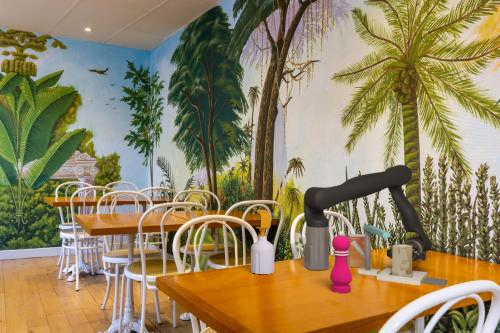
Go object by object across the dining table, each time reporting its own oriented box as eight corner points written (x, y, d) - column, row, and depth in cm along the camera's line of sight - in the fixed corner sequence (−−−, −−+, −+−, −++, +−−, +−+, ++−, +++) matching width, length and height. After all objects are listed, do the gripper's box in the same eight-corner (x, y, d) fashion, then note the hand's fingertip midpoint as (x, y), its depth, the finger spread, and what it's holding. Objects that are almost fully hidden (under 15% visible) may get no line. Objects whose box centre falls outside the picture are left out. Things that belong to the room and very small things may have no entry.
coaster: (423, 283, 152) (423, 281, 152) (426, 278, 158) (426, 277, 158) (444, 285, 149) (444, 284, 149) (447, 281, 155) (447, 279, 155)
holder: (353, 276, 162) (353, 232, 162) (365, 268, 174) (365, 227, 174) (419, 285, 149) (419, 237, 149) (427, 276, 162) (427, 232, 162)
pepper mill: (354, 289, 145) (354, 230, 145) (349, 295, 138) (349, 233, 138) (333, 286, 148) (333, 229, 148) (327, 292, 141) (327, 231, 141)
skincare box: (400, 280, 156) (400, 247, 156) (391, 277, 160) (391, 245, 160) (413, 278, 159) (413, 245, 159) (403, 275, 163) (403, 243, 163)
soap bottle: (267, 268, 174) (267, 208, 174) (278, 273, 166) (278, 210, 166) (247, 271, 170) (247, 209, 170) (257, 276, 162) (257, 211, 162)
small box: (349, 267, 176) (349, 236, 176) (347, 264, 183) (347, 233, 183) (369, 267, 176) (369, 236, 176) (366, 264, 182) (366, 233, 182)
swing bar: (362, 229, 168) (362, 224, 168) (370, 229, 168) (370, 224, 168) (381, 237, 147) (381, 232, 147) (390, 237, 148) (390, 232, 148)
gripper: (393, 239, 178) (383, 245, 164) (429, 242, 171) (422, 249, 157) (393, 257, 178) (383, 265, 164) (429, 261, 170) (422, 269, 157)
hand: (402, 257), depth 160 cm, fingers open, 8 cm apart
